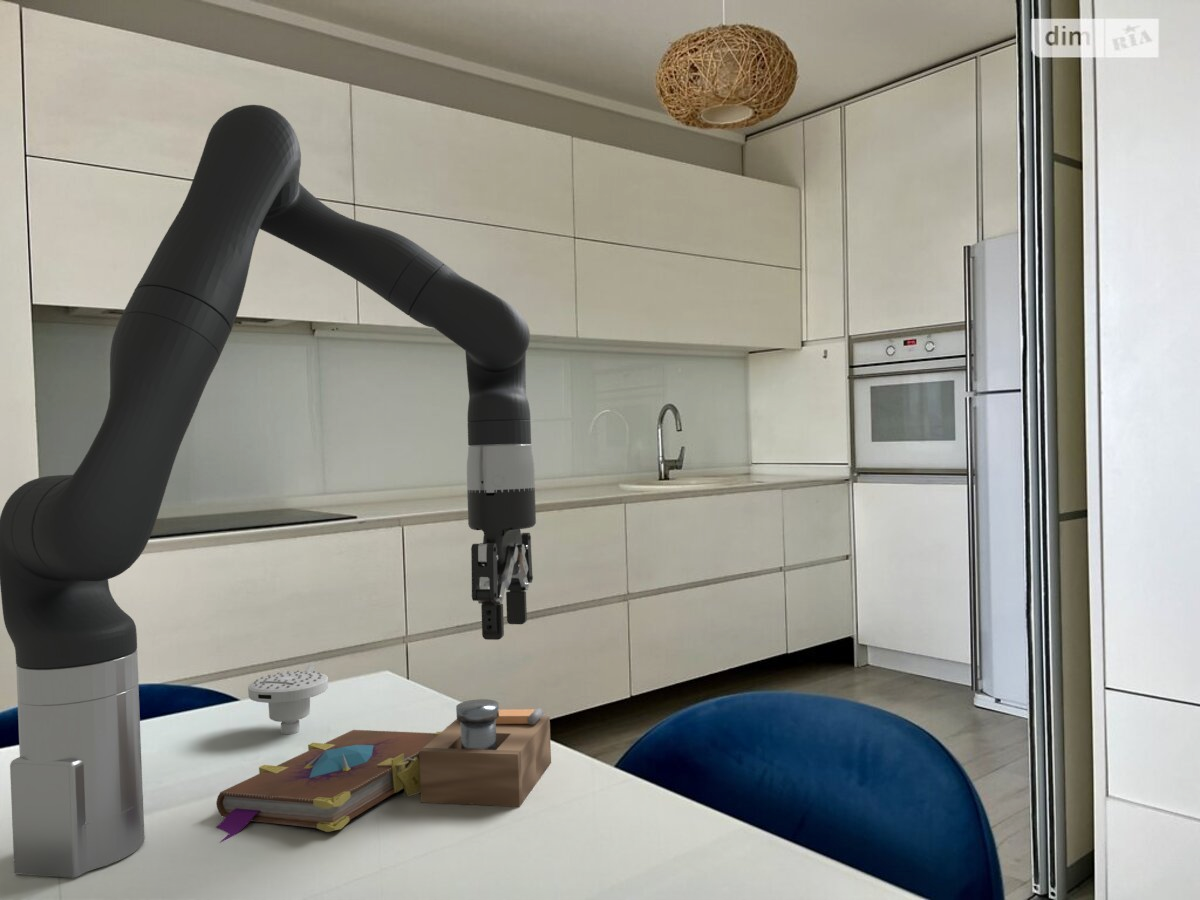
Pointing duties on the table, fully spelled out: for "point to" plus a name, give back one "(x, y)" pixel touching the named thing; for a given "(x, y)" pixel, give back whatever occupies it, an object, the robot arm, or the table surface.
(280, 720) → the showerhead
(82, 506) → the robot arm
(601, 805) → the table surface
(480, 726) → the pin
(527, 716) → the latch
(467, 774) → the block
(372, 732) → the book
